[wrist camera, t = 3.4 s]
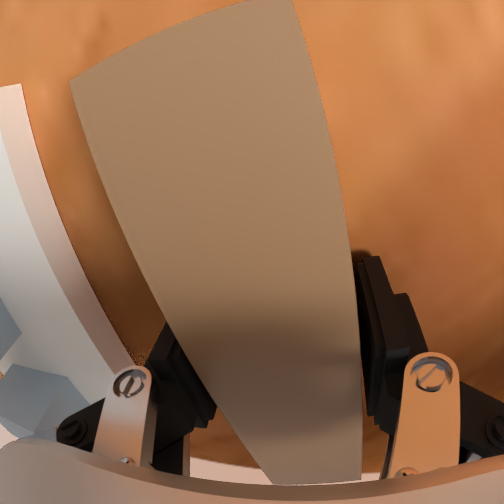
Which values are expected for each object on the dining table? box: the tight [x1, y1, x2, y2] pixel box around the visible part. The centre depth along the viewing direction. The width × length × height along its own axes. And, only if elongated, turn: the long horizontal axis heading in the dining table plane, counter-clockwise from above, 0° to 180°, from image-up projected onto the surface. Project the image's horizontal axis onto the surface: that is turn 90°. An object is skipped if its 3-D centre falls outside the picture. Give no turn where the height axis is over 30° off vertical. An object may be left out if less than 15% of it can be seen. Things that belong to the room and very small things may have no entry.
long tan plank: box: [69, 0, 363, 485], centre depth 9 cm, size 4×16×4 cm, turn 16°
